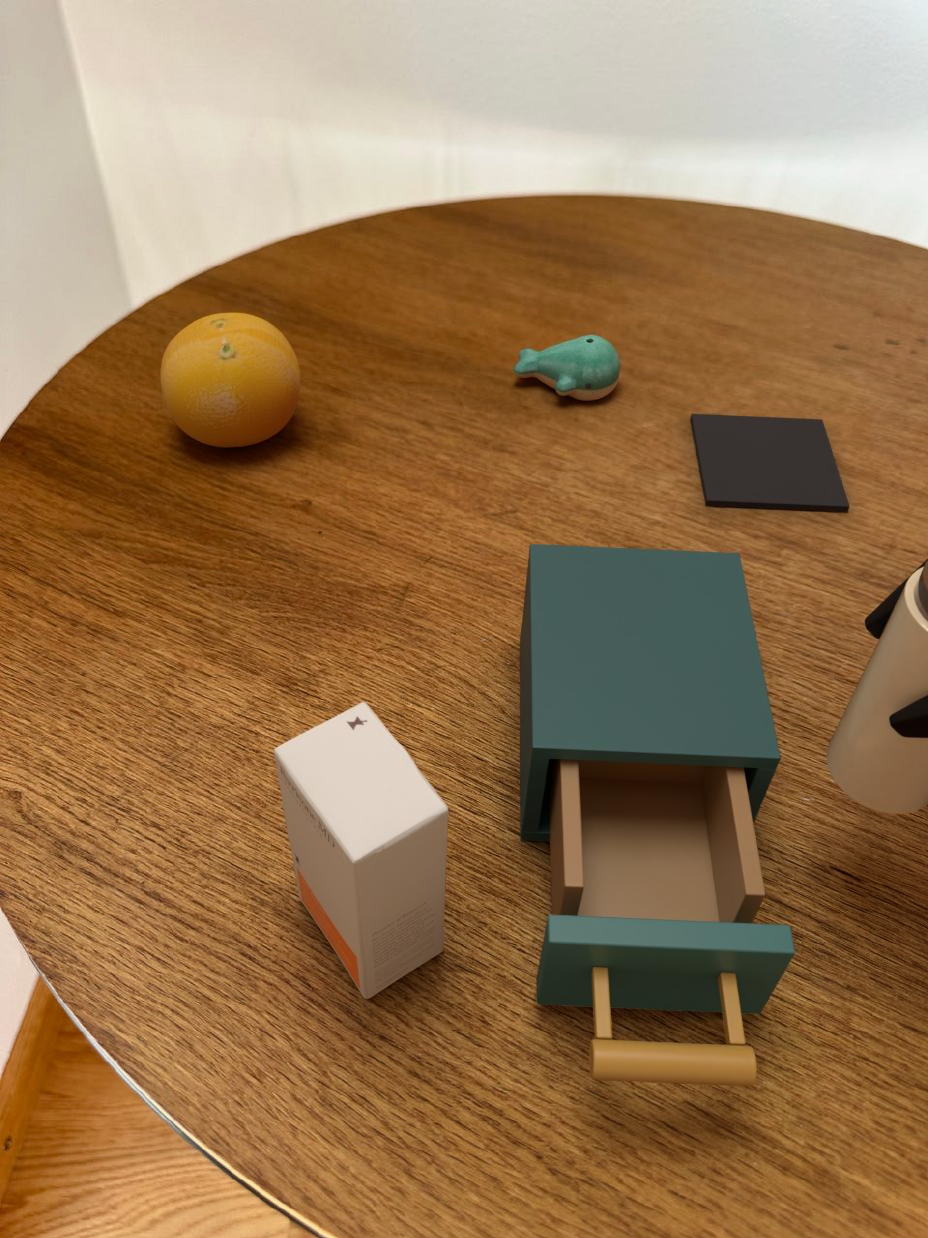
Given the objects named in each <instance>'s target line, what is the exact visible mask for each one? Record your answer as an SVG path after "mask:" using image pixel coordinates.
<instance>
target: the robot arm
mask: <svg viewBox="0 0 928 1238" xmlns="http://www.w3.org/2000/svg"><path fill="white" fill-rule="evenodd" d="M927 561H928V558H926V559H925V560H924V561H923V562H922V563H921V564H920V565H919V566H918V567H917V568H916V569H915V570H914V571H913V572H912V573H910V575H909V576H908V577H907V578H906V579H905V580H903V581H902V582H901V583H900V584H899V585H898V586H897V587H896V588H895V589H894V590H893V591H892V592H891V593H890V594H889V595H888V596H887V597H886V598H885V599H884V600H882V601H881V602H880V604H879V605H877V607H876V608H875V609H873V611H871V612H870V613H869V614H868V615H866V617H865V619H864V626H865V629H866V630H867V632H869V634H871V636H872V637H873V638H875V639H876V640H879V639H880V637H881V634H882V632H883V630H884V628H885V626H886V624H887V622H888V620H889V618H890V616H891V614H892V612H893V609H894V607H895V605H896V603H897V601H898V599H899V597H900V595H901V593H902V591H903V589H904V587H905V585H906V583H907V581H908V579H909V578H910V576H911V575H912V574H913V573H914V572H916V571H917V570H918V569H920V568H922V567H924V566H925V564H926V562H927ZM889 722H890V725H891V727H892V728H893V729H894V730H895V731H896V732H897V733H898V734H899V735H900V736H902V737H907V738H928V695H927V696H925V697H922V698H920V699H919V700H917V701H915V702H913V703H911V704H909V705H908V706H906V707H904V708H902V709H900V710H899V711H897V712H895V713H893V714H892V715H891V716H890V717H889Z"/></svg>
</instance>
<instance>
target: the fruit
mask: <svg viewBox="0 0 928 1238" xmlns="http://www.w3.org/2000/svg"><path fill="white" fill-rule="evenodd" d="M160 388H161V393H162V398H163V401H164V404H165V407H166V409H167V411H168V413H169V415H170V417H171V419H172V421H173V422H174V423H175V424H176V425H177V427H178V428H179V429H181V431H182V432H184V433H185V434H186V435H188V436H189V437H190V438H191V439H194V440H195V441H198V442H200V443H202V444H205V445H207V446H211V447H216V448H241V447H248V446H253V445H256V444H259V443H261V442H264V441H266V440H268V439H270V438H272V437H273V436H275V435H276V434H278V433H280V431H281V430H283V428H284V427H285V426H287V424H288V423H289V422H290V420H291V419H292V417H293V415H294V413H295V410H296V408H297V405H298V402H299V400H300V399H299V398H300V393H301V370H300V365H299V361H298V359H297V356H296V353H295V351H294V349H293V347H292V346H291V344H290V342H289V341H288V339H287V338H286V337H285V335H284V334H283V333H282V332H281V331H280V330H279V329H278V328H277V327H276V326H275V325H273V324H272V323H270V322H268V321H267V320H266V319H263V318H261V317H259V316H256V315H253V314H249V313H244V312H219V313H214V314H209V315H206V316H203V317H201V318H199V319H196V320H194V321H193V322H191V323H189V324H188V325H186V326H185V327H184V328H183V329H181V330H180V331H179V332H178V333H176V335H175V336H174V337H173V338H172V339H171V340H170V342H169V343H168V345H167V346H166V348H165V350H164V353H163V356H162V360H161V365H160Z"/></svg>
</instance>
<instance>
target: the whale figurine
mask: <svg viewBox="0 0 928 1238" xmlns="http://www.w3.org/2000/svg"><path fill="white" fill-rule="evenodd" d="M619 356H620V355H619V353H618V352H617V349H616V348H615V346H614V345H613V344H612V343H611V342H610V341H608V340H607V339H605V338H604V337H603V336H602V337H601V336H599V335H597V334H585V335H582V336H579V337H577V338H573V339H570V340H566V341H564V342H560V343H557V344H554V345H552V346H549V347H547V348H544V349H543V350H540V351H538V350H535V349H532V348H523V349H521V350H519V353H518V362H517V364H515V366H514V367H513V374H514V376H516V377H518V378H522V379H527V378H536V379H537V380H539V381H540V382H542V383H544V384H545V385H547V386H548V387H550V388H552V389H554V390H555V393H556V394H557V395H559V396H561V397H566V396H569V397H570V398H573V399H576V400H579V401H586V402H587V401H589V402H590V401H596V400H599V399H602V398H605V397H606V396H608V395H609V394H611V393H612V392H613V391H614V390H615V388H616V387H617V385H618V382H619V379H620V373H621V372H620V371H621V361H620V357H619Z"/></svg>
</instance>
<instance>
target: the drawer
mask: <svg viewBox="0 0 928 1238" xmlns="http://www.w3.org/2000/svg"><path fill="white" fill-rule="evenodd" d="M548 776H549V817H550V842H549V846H550V847H549V852H550V857H549V858H550V894H551V895H550V896H551V899H550V901H551V914H548V916H547V919H546V924H545V931H544V935H543V941H542V946H541V952H540V957H539V962H538V968H537V973H536V979H535V983H536V985H535V987H536V989H535V990H536V991H535V992H536V993H535V995H536V1004H537V1005H542V1006H565V1007H584V1008H585V1007H586V1008H587V1007H589V1008H592V1011H593V1013H592V1014H593V1015H592V1016H593V1033H594V1035H593V1036H594V1038H593V1039H591V1040H590V1043H589V1050H588V1067H589V1069H588V1070H589V1077H590V1079H592V1080H595V1081H615V1082H637V1083H638V1082H639V1083H657V1084H658V1083H659V1084H660V1083H662V1084H679V1085H680V1084H682V1085H683V1084H685V1085H704V1086H705V1085H706V1086H729V1087H747V1088H748V1087H750V1088H751V1087H754V1086H755V1085H756V1082H757V1076H758V1066H757V1058H756V1053H755V1051H754V1049H753V1047H752V1046H750V1045H746V1036H745V1030H744V1023H743V1017H742V1015H743V1014H744V1015H745V1014H747V1015H761V1014H762V1012H763V1010H764V1009H765V1006H766V1005H767V1003H768V1002H769V1000H770V998H771V996H772V994H773V993H774V991H775V989H776V988H777V986H778V984H779V982H780V981H781V979H782V977H783V975H784V974H785V972H786V970H787V968H788V966H790V963H791V961H792V960H793V958H794V956H795V954H796V950H795V945H794V944H795V943H794V937H793V933H792V932H793V931H792V927H791V925H789V924H776V923H775V924H774V923H773V924H772V923H753V921H754V920H755V917H756V915H757V913H758V911H759V909H760V907H761V905H762V903H763V901H764V899H765V897H766V888H765V883H764V877H763V871H762V866H761V865H762V864H761V859H760V854H759V849H758V848H759V847H758V843H757V838H756V832H755V826H754V823H753V819H752V813H751V807H750V801H749V795H748V790H747V784H746V778H745V772H744V767H724V766H702V765H679V764H657V763H634V762H612V761H589V760H566V759H551V760H550V767H549V773H548ZM611 1009H631V1010H633V1009H634V1010H652V1011H653V1010H655V1011H656V1010H657V1011H679V1012H700V1013H720V1014H722V1021H723V1028H724V1036H725V1044H717V1043H716V1044H715V1043H714V1044H713V1043H692V1042H691V1043H690V1042H673V1041H672V1042H667V1041H647V1040H646V1041H645V1040H628V1039H627V1040H626V1039H623V1040H622V1039H613V1029H612V1028H613V1025H612V1011H611Z"/></svg>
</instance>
